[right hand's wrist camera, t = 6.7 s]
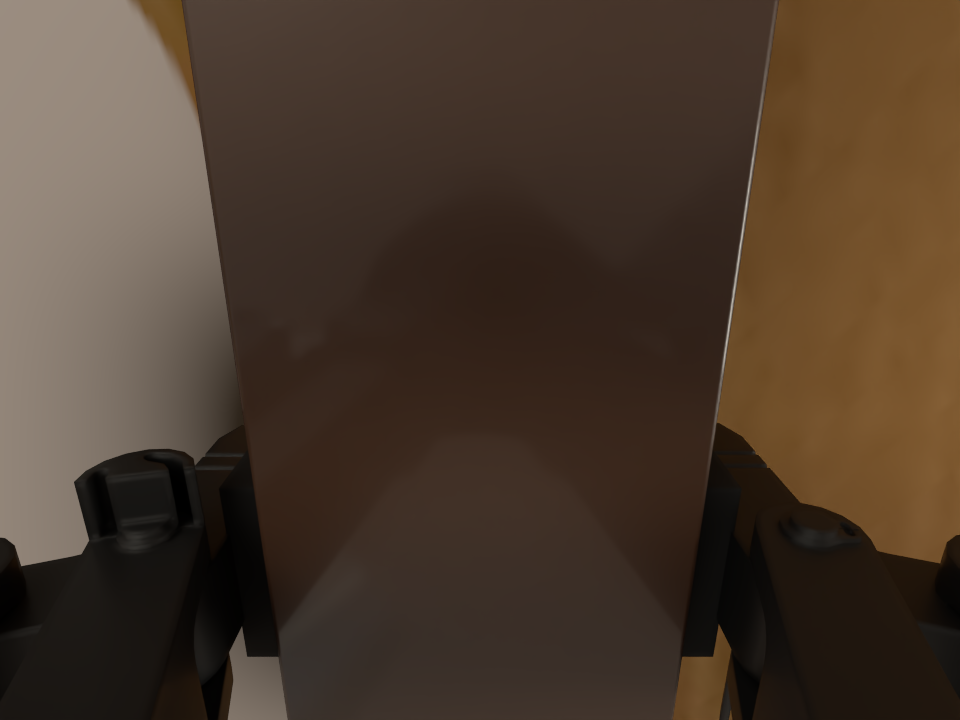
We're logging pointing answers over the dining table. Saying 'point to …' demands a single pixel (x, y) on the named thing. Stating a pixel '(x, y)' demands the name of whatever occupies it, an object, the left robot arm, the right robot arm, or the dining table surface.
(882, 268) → the dining table surface
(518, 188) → the walnut beam
